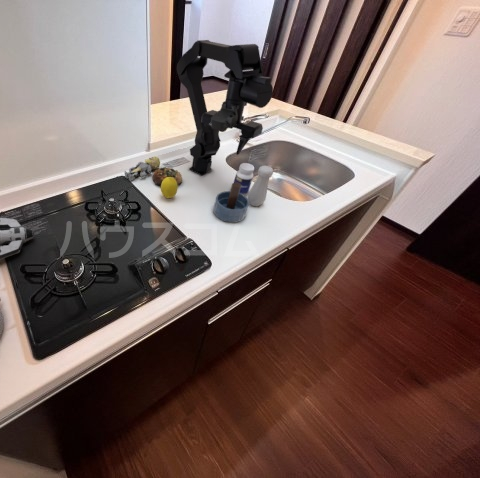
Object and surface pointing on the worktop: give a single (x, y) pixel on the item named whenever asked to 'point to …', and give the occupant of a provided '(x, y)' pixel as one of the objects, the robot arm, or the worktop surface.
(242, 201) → the bowl
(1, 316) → the dish
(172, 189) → the lemon
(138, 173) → the toy
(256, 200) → the salt shaker
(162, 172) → the bread roll
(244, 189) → the pill bottle
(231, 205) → the muddler
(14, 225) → the toy spacecraft
